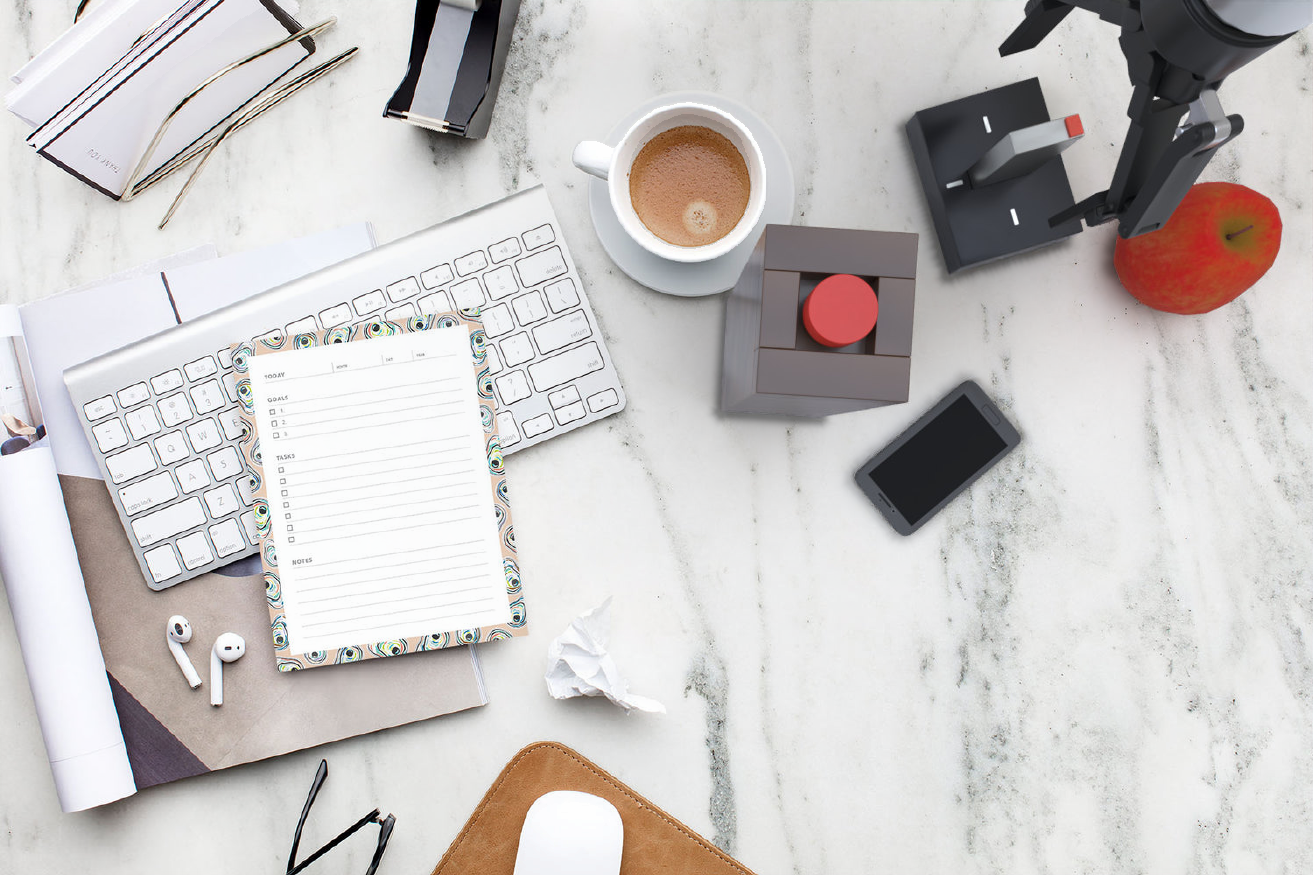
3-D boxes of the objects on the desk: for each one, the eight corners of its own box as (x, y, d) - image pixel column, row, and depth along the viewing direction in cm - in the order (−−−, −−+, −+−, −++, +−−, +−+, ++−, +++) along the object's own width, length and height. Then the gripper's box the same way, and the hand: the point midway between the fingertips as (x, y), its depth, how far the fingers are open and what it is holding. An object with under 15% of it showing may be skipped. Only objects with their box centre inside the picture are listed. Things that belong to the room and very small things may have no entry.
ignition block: (727, 299, 70) (766, 223, 46) (827, 306, 70) (919, 233, 46) (720, 410, 70) (755, 393, 46) (820, 417, 70) (908, 402, 46)
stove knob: (972, 189, 67) (1017, 153, 59) (966, 169, 67) (1011, 130, 59) (1033, 172, 67) (1087, 134, 59) (1028, 152, 67) (1080, 111, 59)
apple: (1190, 339, 70) (1286, 321, 59) (1079, 291, 70) (1156, 263, 59) (1237, 230, 70) (1342, 191, 59) (1126, 182, 70) (1212, 134, 59)
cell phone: (1021, 439, 69) (1025, 439, 69) (902, 539, 69) (905, 540, 69) (968, 377, 70) (972, 376, 69) (850, 476, 69) (852, 476, 69)
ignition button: (804, 278, 46) (810, 271, 44) (871, 282, 46) (880, 275, 44) (800, 345, 46) (806, 341, 44) (867, 349, 46) (876, 346, 44)
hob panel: (904, 125, 70) (916, 110, 67) (1021, 91, 70) (1038, 75, 67) (948, 274, 70) (962, 266, 67) (1065, 240, 70) (1085, 230, 67)
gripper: (1402, 188, 38) (1132, 276, 60) (1263, -300, 38) (1042, -37, 59) (1258, 231, 38) (1039, 303, 59) (1117, -258, 38) (948, -10, 59)
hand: (1040, 134), depth 59 cm, fingers open, 13 cm apart
